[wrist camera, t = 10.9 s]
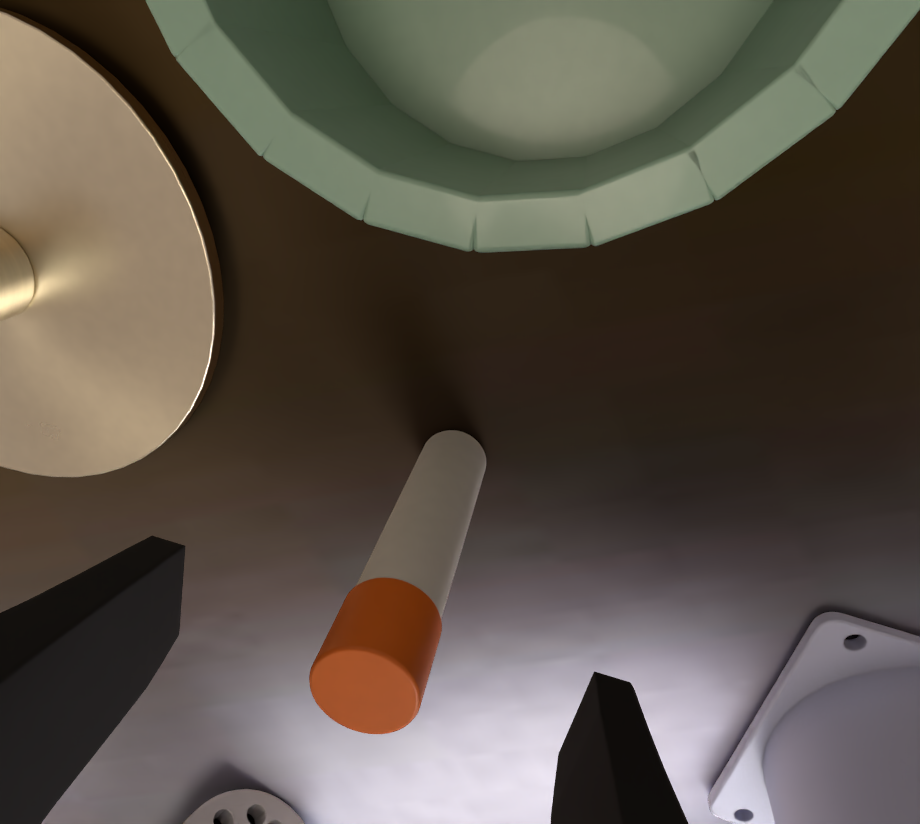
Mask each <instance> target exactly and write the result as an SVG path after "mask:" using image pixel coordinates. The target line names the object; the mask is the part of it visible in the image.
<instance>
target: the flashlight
mask: <svg viewBox="0 0 920 824" xmlns="http://www.w3.org/2000/svg"><path fill="white" fill-rule="evenodd" d="M182 824H305V823H304V822H303V820H302V819H301V818H300V817H299V815H298V814H297V813H296V812H295V811H294V810H293V809H292V808H291V807H290V806H289V805H287V804H286V803H284V802H283V801H282V800H280V799H279V798H277V797H275V796H273V795H271V794H268V793H265V792H262V791H259V790H251V789H240V790H233V791H228V792H224V793H222V794H220V795H217V796H215V797H213V798H212V799H210V800H208V801H207V802H205V803H204V804H202V805H201V806H200V807H199V808H198V809H197V810H196V811H195V812H193V813H192V814H191V815H190V816H189V817H188V818H187V819H186V820H185V821H184V822H183V823H182Z"/></svg>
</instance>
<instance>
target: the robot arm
mask: <svg viewBox="0 0 920 824" xmlns="http://www.w3.org/2000/svg"><path fill="white" fill-rule="evenodd" d="M184 557H185V546H184V545H181V544H177V543H174V542H171V541H168V540H164V539H161V538H158V537H154V536H151V537H149V538H147V539H145V540H143V541H141V542H139V543H137V544H135V545H133V546H131V547H129V548H127V549H125V550H124V551H122V552H120V553H118V554H116V555H114V556H112V557H110V558H108V559H107V560H105V561H103V562H101V563H99V564H97V565H95V566H93V567H91V568H90V569H88V570H86V571H84V572H82V573H80V574H78V575H76V576H74V577H72V578H71V579H69V580H67V581H65V582H63V583H61V584H59V585H57V586H55V587H53V588H51V589H49V590H47V591H45V592H43V593H41V594H39V595H37V596H35V597H33V598H31V599H29V600H27V601H25V602H23V603H21V604H19V605H17V606H15V607H12V608H10V609H8V610H6V611H4V612H2V613H0V824H41V823H42V821H43V820H44V819H45V817H46V816H47V815H48V813H49V812H50V810H51V809H52V808H53V806H54V805H55V804H56V802H57V801H58V800H59V799H60V797H61V796H62V795H63V794H64V792H65V791H66V790H67V789H68V787H69V786H70V785H71V783H72V782H73V781H74V780H75V778H76V777H77V776H78V775H79V773H80V772H81V771H82V770H83V768H84V767H85V766H86V764H87V763H88V762H89V761H90V759H91V758H92V757H93V756H94V754H95V753H96V752H97V751H98V749H99V748H100V747H101V745H102V744H103V743H104V742H105V740H106V739H107V738H108V737H109V735H110V734H111V733H112V732H113V730H114V729H115V728H116V726H117V725H118V724H119V723H120V721H121V720H122V719H123V717H124V716H125V715H126V714H127V712H128V711H129V710H130V708H131V707H132V706H133V705H134V703H135V702H136V701H137V699H138V698H139V697H140V696H141V694H142V693H143V692H144V690H145V689H146V688H147V686H148V685H149V683H150V681H151V680H152V678H153V677H154V675H155V673H156V672H157V670H158V669H159V667H160V665H161V664H162V662H163V661H164V659H165V657H166V655H167V654H168V652H169V650H170V649H171V647H172V645H173V644H174V642H175V640H176V639H177V637H178V635H179V629H180V615H181V600H182V586H183V572H184ZM853 634H858V635H860V636H858V637H857V638H855V639H852V640H847V639H845V638H847V637H848V636H850V635H853ZM708 803H709V808H710V811H711V813H712V814H713V815H714V816H716V817H718V818H720V819H722V820H725V821H729V822H732V823H735V824H920V636H917V635H913V634H910V633H907V632H903V631H900V630H897V629H893V628H890V627H887V626H883V625H880V624H877V623H873V622H870V621H866V620H863V619H860V618H856V617H853V616H850V615H846V614H843V613H839V612H826V613H823V614H821V615H819V616H817V617H816V618H815V619H814V620H813V621H812V622H811V624H810V626H809V627H808V629H807V631H806V632H805V634H804V636H803V637H802V639H801V641H800V642H799V644H798V646H797V647H796V649H795V651H794V653H793V654H792V656H791V658H790V659H789V661H788V663H787V664H786V666H785V668H784V669H783V671H782V673H781V674H780V676H779V678H778V679H777V681H776V683H775V684H774V686H773V688H772V689H771V691H770V693H769V694H768V696H767V698H766V699H765V701H764V703H763V704H762V706H761V708H760V709H759V711H758V713H757V714H756V716H755V718H754V719H753V721H752V723H751V724H750V726H749V728H748V729H747V731H746V733H745V734H744V736H743V738H742V739H741V741H740V743H739V744H738V746H737V748H736V750H735V751H734V753H733V755H732V756H731V758H730V760H729V761H728V763H727V765H726V766H725V768H724V770H723V771H722V773H721V775H720V776H719V778H718V780H717V781H716V783H715V785H714V786H713V788H712V790H711V791H710V793H709V796H708ZM551 824H688V822H687V820H686V817H685V815H684V813H683V810H682V808H681V806H680V804H679V801H678V799H677V797H676V795H675V792H674V790H673V788H672V785H671V783H670V781H669V778H668V776H667V774H666V771H665V769H664V766H663V764H662V762H661V759H660V757H659V754H658V751H657V749H656V746H655V744H654V741H653V739H652V736H651V734H650V731H649V728H648V726H647V723H646V720H645V718H644V715H643V712H642V709H641V707H640V704H639V701H638V698H637V696H636V693H635V690H634V688H633V686H632V685H631V683H630V682H627V681H623V680H620V679H617V678H614V677H610V676H607V675H604V674H601V673H597V672H594V674H593V676H592V678H591V681H590V683H589V685H588V687H587V690H586V692H585V694H584V697H583V699H582V701H581V704H580V706H579V708H578V710H577V713H576V715H575V717H574V720H573V722H572V724H571V727H570V729H569V731H568V733H567V736H566V738H565V740H564V743H563V745H562V747H561V750H560V752H559V755H558V763H557V771H556V779H555V786H554V795H553V804H552V813H551Z"/></svg>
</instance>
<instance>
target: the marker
mask: <svg viewBox="0 0 920 824" xmlns="http://www.w3.org/2000/svg"><path fill="white" fill-rule="evenodd" d="M485 469H486V456H485V453H484V450H483V448H482V447H481V445H480V444H479V443H478V442H477V440H475V439H474V438H473V437H472V436H470V435H468V434H466V433H464V432H461V431H455V430H448V431H442V432H439V433H437V434H435V435H433V436H432V437H431V438H430V439H429V440H428V441H427V442H426V443H425V445H424V447H423V449H422V451H421V453H420V456H419V458H418V460H417V462H416V464H415V466H414V468H413V470H412V472H411V474H410V476H409V478H408V480H407V482H406V484H405V486H404V488H403V490H402V492H401V495H400V497H399V499H398V501H397V503H396V505H395V507H394V509H393V511H392V513H391V515H390V517H389V519H388V521H387V523H386V525H385V527H384V529H383V531H382V534H381V536H380V538H379V540H378V542H377V544H376V546H375V548H374V550H373V552H372V554H371V556H370V558H369V560H368V562H367V564H366V566H365V568H364V570H363V573H362V575H361V577H360V579H359V581H358V583H357V585H356V587H354V588H353V589H352V590H351V591H350V592H349V593H348V595H347V597H346V599H345V601H344V603H343V605H342V607H341V609H340V611H339V613H338V615H337V617H336V619H335V621H334V623H333V625H332V627H331V629H330V631H329V633H328V635H327V637H326V639H325V641H324V643H323V645H322V647H321V649H320V651H319V653H318V655H317V657H316V659H315V661H314V663H313V665H312V667H311V671H310V677H309V680H310V688H311V692H312V695H313V697H314V699H315V701H316V703H317V704H318V705H319V707H320V708H321V709H322V710H323V711H324V712H325V713H326V714H327V715H328V716H329V717H330V718H332V719H333V720H334V721H336V722H337V723H339V724H341V725H343V726H345V727H347V728H349V729H352V730H355V731H358V732H362V733H368V734H385V733H391V732H395V731H397V730H400V729H401V728H403V727H405V726H406V725H408V724H409V723H410V722H411V721H412V720H413V719H414V718H415V716H416V715H417V713H418V711H419V708H420V705H421V702H422V698H423V695H424V691H425V688H426V684H427V681H428V677H429V674H430V670H431V667H432V663H433V660H434V657H435V653H436V650H437V646H438V643H439V639H440V636H441V631H442V623H441V618H442V615H443V612H444V608H445V605H446V601H447V598H448V595H449V591H450V588H451V584H452V581H453V578H454V574H455V571H456V567H457V564H458V561H459V557H460V554H461V551H462V547H463V544H464V540H465V537H466V534H467V530H468V527H469V523H470V520H471V517H472V513H473V510H474V506H475V503H476V500H477V496H478V493H479V489H480V486H481V483H482V479H483V476H484V472H485Z"/></svg>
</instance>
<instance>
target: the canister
mask: <svg viewBox="0 0 920 824" xmlns="http://www.w3.org/2000/svg"><path fill="white" fill-rule="evenodd" d="M146 2H147V4H148V6H149V8H150V10H151V12H152V14H153V16H154V18H155V20H156V22H157V24H158V26H159V28H160V30H161V32H162V35H163V37H164V39H165V41H166V43H167V45H168V47H169V49H170V51H171V53H172V54H173V56H174V57H176V60H177V62H178V63H179V64H180V65H181V66H182V67H183V69H184V70H185V71H186V72H187V73H188V74H189V75H190V77H191V78H192V79H193V80H194V81H195V82H196V84H197V85H198V86H199V87H200V88H201V89H202V90H203V92H204V93H205V94H206V95H207V96H208V97H209V99H210V100H211V101H212V102H213V103H214V104H215V106H216V107H217V108H218V109H219V110H220V111H221V112H222V114H223V115H224V116H225V117H226V118H227V119H228V121H229V122H230V123H231V124H232V125H233V126H234V127H235V129H236V130H237V131H238V132H239V133H240V134H241V136H242V137H243V138H244V139H245V140H246V141H247V143H248V144H249V145H250V146H251V147H252V148H253V149H254V151H255V152H256V153H257V154H258V155H260V156H263V157H264V158H265V160H266V161H268V162H269V163H271V164H272V165H274V166H275V167H277V168H278V169H280V170H281V171H283V172H285V173H286V174H288V175H289V176H291V177H292V178H294V179H295V180H297V181H298V182H300V183H301V184H303V185H305V186H306V187H308V188H309V189H311V190H312V191H314V192H315V193H317V194H318V195H320V196H321V197H323V198H325V199H326V200H328V201H329V202H331V203H332V204H334V205H335V206H337V207H338V208H340V209H341V210H343V211H345V212H346V213H348V214H349V215H351V216H352V217H354V218H355V219H357V220H362V219H364V222H366V223H367V224H369V225H372V226H376V227H380V228H383V229H387V230H391V231H394V232H398V233H401V234H405V235H409V236H412V237H416V238H420V239H423V240H427V241H430V242H434V243H438V244H441V245H445V246H449V247H452V248H456V249H459V250H463V251H467V252H468V251H472V250H473V249H474V250H475V251H476V252H479V253H487V252H508V251H528V250H549V249H570V248H585V247H588V246H590V244H592V245H593V246H598V245H601V244H604V243H607V242H609V241H612V240H615V239H617V238H620V237H623V236H625V235H628V234H631V233H634V232H636V231H639V230H642V229H644V228H647V227H650V226H652V225H655V224H658V223H661V222H663V221H666V220H669V219H671V218H674V217H677V216H679V215H682V214H685V213H688V212H690V211H693V210H696V209H698V208H701V207H704V206H706V205H709V204H711V203H712V202H713V201H714V199H715V200H719V199H721V198H722V197H723V196H725V195H726V194H728V193H729V192H730V191H732V190H733V189H734V188H736V187H737V186H738V185H740V184H741V183H742V182H744V181H745V180H746V179H748V178H749V177H750V176H752V175H753V174H755V173H756V172H757V171H759V170H760V169H761V168H763V167H764V166H765V165H767V164H768V163H769V162H771V161H772V160H773V159H775V158H776V157H777V156H779V155H780V154H782V153H783V152H784V151H786V150H787V149H788V148H790V147H791V146H792V145H794V144H795V143H796V142H798V141H799V140H800V139H802V138H803V137H805V136H806V135H807V134H809V133H810V132H811V131H813V130H814V129H815V128H817V127H818V126H819V125H821V124H822V123H823V122H825V121H826V120H827V119H829V118H830V117H832V116H833V115H834V113H835V112H836V111H835V109H836V110H838V109H839V108H841V107H842V106H843V105H844V103H845V102H846V101H847V100H848V98H849V97H850V96H851V95H852V93H853V92H854V91H855V90H856V88H857V87H858V86H859V85H860V83H861V82H862V81H863V80H864V78H865V77H866V76H867V75H868V73H869V72H870V71H871V70H872V68H873V67H874V66H875V65H876V63H877V62H878V61H879V60H880V59H881V57H882V56H883V55H884V54H885V52H886V51H887V50H888V49H889V47H890V46H891V45H892V44H893V42H894V41H895V40H896V39H897V37H898V36H899V35H900V34H901V32H902V31H903V30H904V29H905V27H906V26H907V25H908V24H909V22H910V21H911V20H912V19H913V17H914V16H915V15H916V14H917V12H918V11H919V10H920V0H146Z"/></svg>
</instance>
